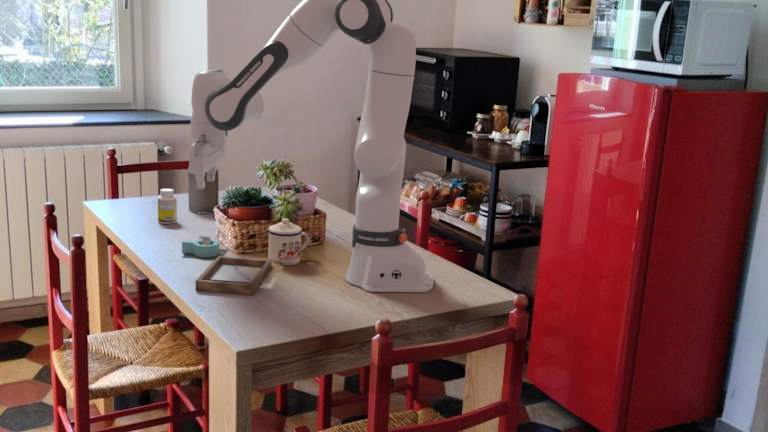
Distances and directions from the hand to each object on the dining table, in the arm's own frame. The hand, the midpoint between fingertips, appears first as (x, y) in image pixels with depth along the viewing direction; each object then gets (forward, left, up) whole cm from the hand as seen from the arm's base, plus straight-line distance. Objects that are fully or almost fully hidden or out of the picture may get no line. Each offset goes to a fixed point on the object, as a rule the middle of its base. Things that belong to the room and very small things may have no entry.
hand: (205, 184), depth 213 cm
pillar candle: (+15, -50, -20) cm, 56 cm away
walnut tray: (-12, +15, -20) cm, 28 cm away
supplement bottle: (+21, -32, -20) cm, 43 cm away
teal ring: (+2, -1, -19) cm, 19 cm away
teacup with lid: (-22, -4, -20) cm, 30 cm away
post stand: (0, -1, -20) cm, 20 cm away
